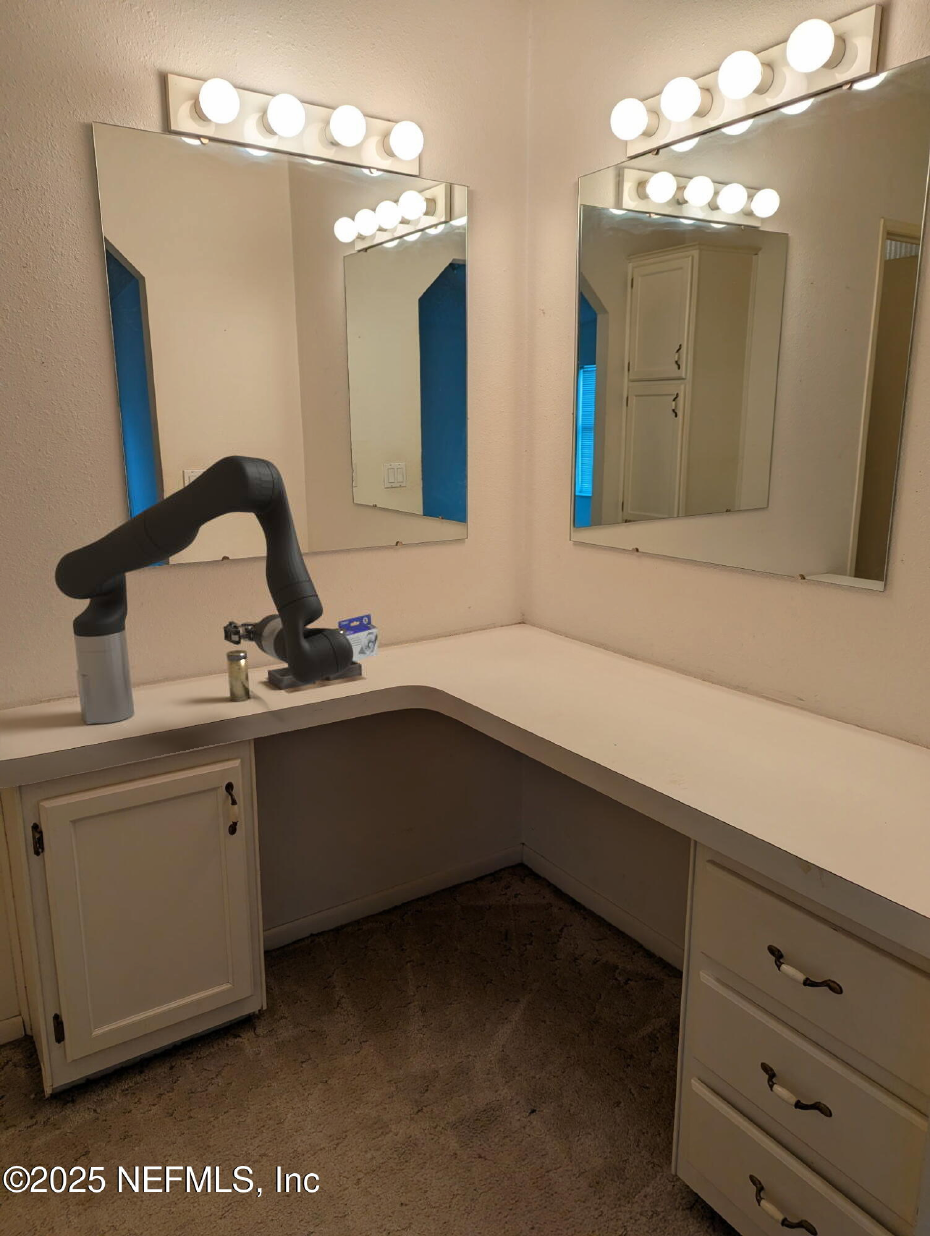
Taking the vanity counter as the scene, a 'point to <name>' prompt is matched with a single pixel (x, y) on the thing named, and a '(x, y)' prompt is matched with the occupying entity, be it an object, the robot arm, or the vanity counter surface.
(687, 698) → the vanity counter surface
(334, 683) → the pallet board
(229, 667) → the billet
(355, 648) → the ink box
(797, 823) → the vanity counter surface
